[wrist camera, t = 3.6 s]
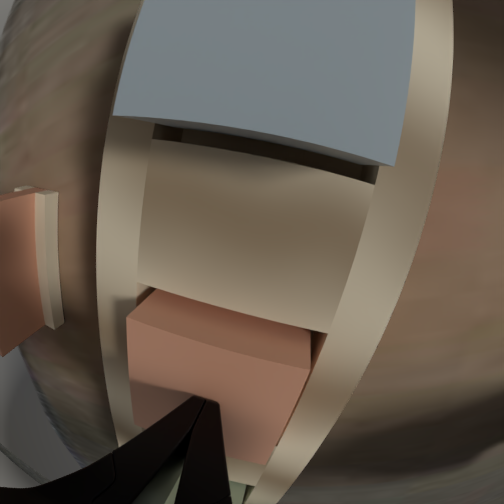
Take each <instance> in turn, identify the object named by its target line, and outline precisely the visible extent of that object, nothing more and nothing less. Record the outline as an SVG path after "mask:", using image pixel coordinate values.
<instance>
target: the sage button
mask: <svg viewBox="0 0 504 504" xmlns="http://www.w3.org/2000/svg"><path fill="white" fill-rule="evenodd" d="M180 476H181V475H180ZM180 476H179V478H178V480H177V482H176V484H175V486H174V487H173V489H172V491H171V493H170V495H169V496H168V498H167V500H166V502H165V504H174V501H175V497H176V493H177V489H178V485H179V481H180ZM229 484H230V491H231V495H230V496H231V497H232V504H242V501H243V497H244V493H245V489H246V485H247V484H243V483H238V482H234V481H230V480H229Z"/></svg>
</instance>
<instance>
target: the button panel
mask: <svg viewBox="0 0 504 504" xmlns="http://www.w3.org/2000/svg"><path fill="white" fill-rule="evenodd" d="M143 3H144V0H142V1H141V3H140V6H139V9H138V11H137V14H136V17H135V20H134V23H133V26H132V29H131V32H130V35H129V38H128V42H127V45H126V48H125V52H124V55H123V59H122V62H121V66H120V70H119V74H118V78H117V82H116V87H115V91H114V96H113V100H112V105H111V110H110V115H109V121H108V127H107V132H106V139H105V145H104V153H103V160H102V168H101V178H100V188H99V200H98V215H97V241H96V279H97V304H98V320H99V332H100V342H101V351H102V359H103V367H104V374H105V381H106V387H107V393H108V398H109V404H110V409H111V414H112V419H113V423H114V428H115V432H116V436H117V441H118V445H119V447H120V446H122V445H123V444H125V443H126V442H128V441H129V440H131V439H132V438H134V437H135V436H137V435H138V434H140V433H141V432H143V431H144V430H145V429H144V428H142V427H139V426H137V425H135V424H134V419H133V411H132V402H131V393H130V382H129V369H128V352H127V325H126V317H127V316H128V315H129V314H130V313H131V312H132V311H133V310H134V309H135V308H136V307H137V306H139V305H140V304H141V303H142V302H143V301H144V300H145V299H146V298H147V297H148V296H149V295H150V294H151V293H153V292H154V291H155V290H156V289H161V290H164V291H167V292H170V293H174V294H177V295H180V296H184V297H187V298H190V299H194V300H197V301H201V302H204V303H208V304H211V305H215V306H218V307H222V308H226V309H229V310H233V311H237V312H241V313H244V314H248V315H252V316H256V317H260V318H264V319H268V320H272V321H276V322H280V323H284V324H288V325H293V326H297V327H301V328H305V329H310V347H311V363H310V372H309V375H308V377H307V379H306V382H305V384H304V386H303V389H302V391H301V393H300V395H299V398H298V400H297V402H296V404H295V406H294V408H293V411H292V413H291V415H290V417H289V419H288V421H287V423H286V425H285V427H284V429H283V431H282V434H281V436H280V438H279V440H278V442H277V443H276V445H275V447H274V449H273V451H272V453H271V455H270V457H269V459H268V461H267V463H266V465H262V464H257V463H253V462H248V461H244V460H239V459H235V458H231V457H228V456H226V462H227V469H228V477H229V480H230V481H234V482H238V483H243V484H247V485H246V489H245V493H244V497H243V501H242V504H276V503H277V502H278V501H279V500H280V499H281V497H282V496H283V495H284V494H285V492H286V491H287V490H288V489H289V487H290V486H291V485H292V484H293V482H294V481H295V480H296V478H297V477H298V476H299V474H300V473H301V472H302V470H303V469H304V468H305V466H306V465H307V464H308V462H309V461H310V459H311V458H312V457H313V455H314V454H315V452H316V451H317V449H318V448H319V447H320V445H321V444H322V442H323V441H324V439H325V438H326V436H327V435H328V433H329V431H330V430H331V428H332V427H333V425H334V424H335V422H336V420H337V419H338V417H339V416H340V414H341V412H342V411H343V409H344V407H345V406H346V404H347V402H348V400H349V399H350V397H351V395H352V393H353V392H354V390H355V388H356V386H357V384H358V383H359V381H360V379H361V377H362V375H363V373H364V371H365V370H366V368H367V366H368V364H369V362H370V360H371V358H372V356H373V354H374V352H375V350H376V348H377V346H378V343H379V341H380V339H381V337H382V335H383V333H384V331H385V328H386V326H387V324H388V322H389V319H390V317H391V315H392V312H393V310H394V308H395V305H396V303H397V300H398V298H399V296H400V293H401V291H402V288H403V285H404V283H405V280H406V277H407V275H408V272H409V269H410V267H411V264H412V261H413V258H414V255H415V252H416V249H417V246H418V243H419V240H420V237H421V233H422V230H423V227H424V224H425V220H426V217H427V213H428V209H429V206H430V202H431V198H432V194H433V190H434V186H435V182H436V178H437V173H438V169H439V164H440V159H441V154H442V149H443V143H444V137H445V131H446V125H447V118H448V110H449V102H450V93H451V82H452V67H453V3H452V0H416V1H415V28H414V43H413V55H412V65H411V74H410V82H409V89H408V96H407V103H406V109H405V115H404V121H403V127H402V132H401V137H400V143H399V147H398V152H397V157H396V162H395V166H394V167H391V166H375V165H359V164H356V163H352V162H349V161H345V160H341V159H338V158H334V157H330V156H326V155H323V154H319V153H315V152H311V151H306V150H302V149H298V148H293V147H289V146H284V145H280V144H275V143H270V142H265V141H260V140H255V139H250V138H244V137H238V136H232V135H226V134H220V133H213V132H207V131H199V130H192V129H184V128H175V127H171V126H166V125H162V124H157V123H152V122H147V121H142V120H136V119H131V118H125V117H119V116H113V110H114V105H115V100H116V96H117V91H118V87H119V82H120V78H121V74H122V70H123V66H124V62H125V59H126V55H127V52H128V48H129V45H130V41H131V38H132V35H133V32H134V29H135V26H136V23H137V20H138V17H139V14H140V11H141V8H142V6H143Z"/></svg>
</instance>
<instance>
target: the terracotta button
mask: <svg viewBox="0 0 504 504" xmlns="http://www.w3.org/2000/svg"><path fill="white" fill-rule="evenodd" d="M126 325H127V352H128V369H129V382H130V393H131V402H132V411H133V419H134V424H135V425H137V426H139V427H142V428H144V429H147V428H148V427H150V426H151V425H153V424H154V423H156V422H157V421H158V420H160V419H161V418H163V417H164V416H165V415H167V414H168V413H170V412H171V411H172V410H174V409H175V408H176V407H178V406H179V405H181V404H182V403H183V402H185V401H186V400H187V399H189V398H190V397H191V396H198V397H201V398H204V399H205V400H206V401H207V400H211V401H214V402H217V403H219V404H220V410H221V420H222V429H223V437H224V446H225V454H226V456H228V457H231V458H235V459H239V460H244V461H248V462H253V463H257V464H262V465H266V463H267V461H268V459H269V457H270V455H271V453H272V451H273V449H274V447H275V445H276V443H277V442H278V440H279V438H280V436H281V434H282V431H283V429H284V427H285V425H286V423H287V421H288V419H289V417H290V415H291V413H292V411H293V408H294V406H295V404H296V402H297V400H298V398H299V395H300V393H301V391H302V389H303V386H304V384H305V382H306V379H307V377H308V375H309V372H310V363H311V347H310V329H305V328H301V327H297V326H293V325H288V324H284V323H280V322H276V321H272V320H268V319H264V318H260V317H256V316H252V315H248V314H244V313H241V312H237V311H233V310H229V309H226V308H222V307H218V306H215V305H211V304H208V303H204V302H201V301H197V300H194V299H190V298H187V297H184V296H180V295H177V294H174V293H170V292H167V291H164V290H161V289H156V290H155V291H154V292H153V293H151V294H150V295H149V296H148V297H147V298H146V299H145V300H144V301H143V302H142V303H141V304H140V305H139V306H137V307H136V308H135V309H134V310H133V311H132V312H131V313H130V314H129V315H128V316H127V317H126Z"/></svg>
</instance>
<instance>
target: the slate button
mask: <svg viewBox="0 0 504 504" xmlns="http://www.w3.org/2000/svg"><path fill="white" fill-rule="evenodd" d="M415 1H416V0H144V3H143V6H142V8H141V11H140V14H139V17H138V20H137V23H136V26H135V29H134V32H133V35H132V38H131V41H130V45H129V48H128V52H127V55H126V59H125V62H124V66H123V70H122V74H121V78H120V82H119V87H118V91H117V96H116V100H115V105H114V110H113V116H119V117H125V118H131V119H136V120H142V121H147V122H152V123H157V124H162V125H166V126H171V127H175V128H184V129H192V130H199V131H207V132H213V133H220V134H226V135H232V136H238V137H244V138H250V139H255V140H260V141H265V142H270V143H275V144H280V145H284V146H289V147H293V148H298V149H302V150H306V151H311V152H315V153H319V154H323V155H326V156H330V157H334V158H338V159H341V160H345V161H349V162H352V163H356V164H359V165H375V166H391V167H394V166H395V162H396V157H397V152H398V147H399V143H400V137H401V132H402V127H403V121H404V115H405V109H406V103H407V96H408V89H409V82H410V74H411V65H412V55H413V43H414V28H415Z"/></svg>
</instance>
